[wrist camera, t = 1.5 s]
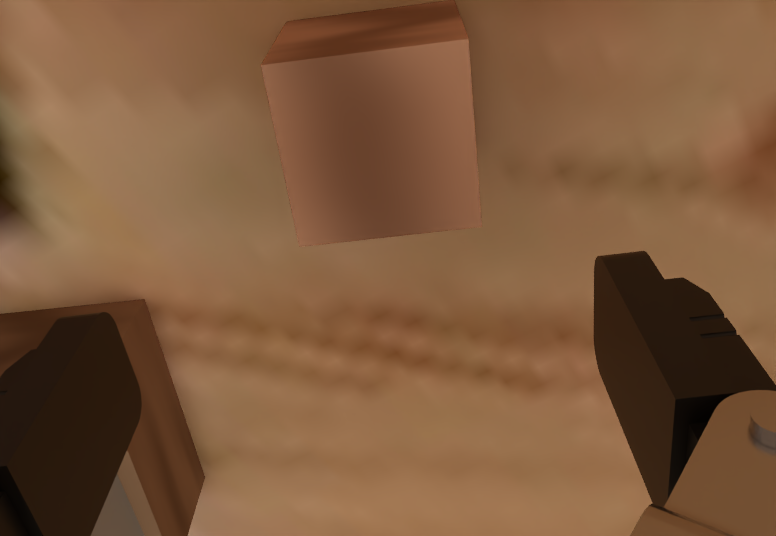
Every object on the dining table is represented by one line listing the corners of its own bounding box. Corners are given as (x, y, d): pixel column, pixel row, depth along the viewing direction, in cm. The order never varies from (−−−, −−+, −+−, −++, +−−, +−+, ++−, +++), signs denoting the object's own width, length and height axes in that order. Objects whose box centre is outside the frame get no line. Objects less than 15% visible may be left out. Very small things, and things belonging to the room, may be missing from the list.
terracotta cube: (453, -1, 22) (468, 38, 18) (466, 157, 24) (481, 226, 20) (286, 21, 22) (260, 65, 18) (316, 175, 25) (299, 246, 20)
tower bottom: (146, 295, 27) (99, 381, 23) (206, 472, 32) (176, 572, 27) (-85, 319, 28) (-174, 406, 24) (5, 489, 32) (-56, 589, 28)
